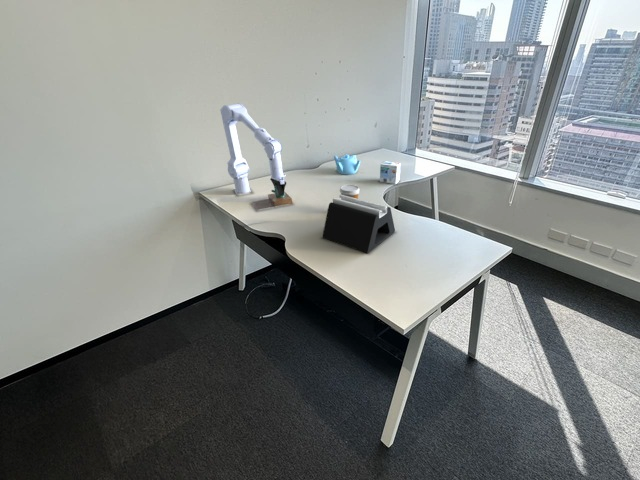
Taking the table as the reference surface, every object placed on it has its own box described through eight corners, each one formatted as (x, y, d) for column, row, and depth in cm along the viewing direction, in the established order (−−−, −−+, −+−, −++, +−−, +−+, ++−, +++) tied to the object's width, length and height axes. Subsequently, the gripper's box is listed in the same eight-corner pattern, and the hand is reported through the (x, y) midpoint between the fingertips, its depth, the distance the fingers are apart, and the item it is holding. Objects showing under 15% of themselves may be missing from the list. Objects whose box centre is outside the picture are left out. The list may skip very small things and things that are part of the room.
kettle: (283, 193, 170) (281, 183, 167) (286, 196, 167) (285, 186, 164) (270, 195, 167) (269, 185, 164) (273, 199, 164) (272, 188, 161)
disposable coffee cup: (362, 209, 164) (362, 185, 157) (355, 216, 156) (355, 192, 149) (344, 206, 166) (344, 183, 159) (337, 213, 159) (336, 189, 152)
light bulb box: (379, 181, 197) (380, 163, 191) (383, 178, 202) (383, 160, 196) (396, 184, 194) (397, 166, 188) (399, 181, 199) (400, 163, 193)
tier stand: (251, 203, 167) (250, 197, 165) (285, 197, 175) (284, 191, 173) (257, 211, 159) (255, 205, 157) (292, 204, 167) (291, 198, 165)
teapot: (361, 175, 207) (361, 157, 201) (337, 176, 204) (337, 158, 198) (356, 167, 219) (356, 151, 213) (334, 168, 216) (333, 152, 210)
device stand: (367, 253, 128) (368, 218, 120) (322, 238, 138) (320, 205, 129) (394, 231, 144) (397, 199, 135) (352, 219, 154) (352, 188, 145)
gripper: (288, 169, 156) (292, 197, 163) (279, 162, 166) (283, 188, 174) (274, 172, 153) (278, 199, 160) (265, 163, 163) (270, 190, 171)
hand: (280, 193), depth 167 cm, fingers closed on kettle, 5 cm apart
